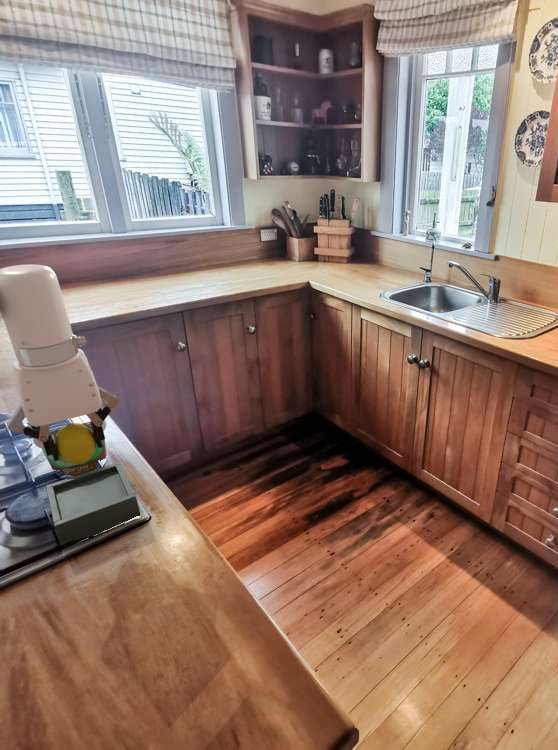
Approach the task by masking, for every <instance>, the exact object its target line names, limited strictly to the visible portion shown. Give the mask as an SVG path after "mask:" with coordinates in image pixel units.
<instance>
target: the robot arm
mask: <svg viewBox="0 0 558 750" xmlns="http://www.w3.org/2000/svg"><path fill="white" fill-rule="evenodd" d="M1 321H3V322H4V325H5V328H6V332H7V334H8V336H9V339H10V343H11V346H12V349H13V351H14V354H15V357H16V360H14V361H13V363H12V370H13V379H14V382H15V387H16V390H17V395H18V398H19V401H20V404H19V406H18V407H17V409H16V410H15V411H14V413H13V414H12V416H11V417H10V419H9V420H8V422H7V423H6V425H7V429H8V431H12V432H15V433H19V434H24V436H27V437H30V438H32V439H33V438H35V439H38V440H39V441H40V442H43V445H44V448H45V451H46V454H47V456H50V455H53V458H54V461H55V462H56V461H58V460H59V455H58V453H57V450H56V446H55V443H54V440H53V437H52V434H51V433H50V432H51V431H50V429H51V425H52V424H55V423H60V422H64V421H67V420H70V419H75V418H78V417H82V416H87V418H89V420H90V421H89V422H90V425H91V428H92V432H93V435H94V437H95V441H96V444H97V447H98V448H102V447H103V445H102V442H101V440H104V439H105V440H106V436H105V432H103V428H102V425H103V421H104V420H105V421H106V419H107V418H108V416H109V415H110V413H112V412H111V411H112V410H113V409H114V408H115V407H116V406H117V404H119V402H120V399H119V396H117V395H116V394H114V393H112V392H111V391H108V390H107V389H105V388H104V387H103V388H102V387H101V386H99V385H98V384H97V381H96V378H95V375H94V372H93V369H92V367H91V365H90V362H89V360H88V358H87V356H86V354H85V352H84V351H83V350H82V349H81V348H80V347H83V346H86V345H88V342H87V339H86V336H85V335H83V336H79V335H76V334H74V333H73V329H72V326H71V322H70V319H69V314H68V311H67V307H66V303H65V301H64V297H63V293H62V290H61V286H60V283H59V279H58V277H57V274H56V272H55V271H54V270H53V269H52V268H51V267H49V266H46V265H42V264H33V263H31V264H17V265H10V266H6V267H2V268H0V323H1ZM102 400H104V403H103V401H102ZM25 419H26V421H27V423H25V422H23V421H24V420H25Z"/></svg>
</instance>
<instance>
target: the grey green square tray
mask: <svg viewBox="0 0 558 750" xmlns="http://www.w3.org/2000/svg"><path fill="white" fill-rule="evenodd" d="M45 489H46V494H47V499H48V504H49V508H50V512H51V518H52V522H53V527H54V529H55V532H56V534H57V538H58V540H59V542H60V545H61V544H65V543H67V542H69V541H72V540H76V539H81V538H85V537H89V536H92V535H96V534H99V533H101V532H103V531H104V530H108V529H110V528H112V527H114V526H116V525H118V524H121V523H123V522H125V521H128V520H130V519H132V518H134V517H136V516H140V515H141V514H142V513H141V511H140V506H139V502H138V499H137V495H136V493H135V491H134V488H133V486H132V484H131V482H130V480H129V478H128V475H127V474H126V471H125V469H124V467H123V464H122V462H121V461H117V462H114V463H111V464H109V465H104V466H103V467H102V468H99V469H96V470H92V471H89V472H86V473H83V474H80V475H77V476H74V477H71V478H68V479H60V480H59V481H55V482H53V483H49V484H46V485H45ZM141 516H142V515H141ZM99 535H100V534H99Z"/></svg>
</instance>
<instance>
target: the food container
mask: <svg viewBox="0 0 558 750" xmlns="http://www.w3.org/2000/svg"><path fill="white" fill-rule="evenodd" d="M90 422H91V421H88V422H82V423H81V424H83V425H85V426H87V427H88V428H89V429H90V430H91V432H92V428H91V425H90ZM102 428H103V432H104V431H105V430H106V428H107V421H106V419H105V420H104V421H103V425H102ZM60 429H61V428H58V429H55V430H53V431H49V432H50V433H51V434H52V437H53V440H54V443H55V439H56V435H57V433H58V431H59V430H60ZM92 433H93V432H92ZM104 433H105V432H104ZM32 441H33V444H34V446H35V447H37V448H38V449H41V450H42V452H43V454H44V456H45V458H46V460H47V461H48V463H49V465H50V468H51V470H52V471H53V470H60V471H62V472H63V473H65V474H67V475H71V476H77V475H80V474H83V473H86V472H89V471H92V470H95V468H96V464H97V461H98V460H100V461H101V460H103V459H105V458H106V456H107V457H108V454H107V446H106V438H105V439H104V440H101V442H102V445H103V447H102V448H98V447H97V444H96V450H95V452H94V454H93V456H92V457H91V458H90V459H89V460H87V461H86V462H84V464H71V463H68V462H65V461H64V460H63V459H62V458H61V457H60V456H59V460H58V461H56V462H55V461H54V458H53V455H50V456H47V454H46V451H45V448H44V445H43V442H40V441H39V440H38V439H35V438H32ZM55 446H56V445H55Z"/></svg>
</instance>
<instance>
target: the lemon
mask: <svg viewBox="0 0 558 750" xmlns="http://www.w3.org/2000/svg"><path fill="white" fill-rule="evenodd" d="M59 429H60V430H59V431H58V433H57V435H56V439H55V445H56V450H57V453H58V455H59V456H60V457H61V458H62V459H63V460H64V461H65V462H68V463H71V464H84V462H86V461H87V460H89V459H90V458H91V457H92V456H93V454H94V452H95V450H96V441H95V437H94V435H93V433H92V432H91V430H90V429H89V428H88V427H87V426H85V425H83V424H82V423H79V422H68V423H67V424H65V425H63V426H62V427H61V428H59Z"/></svg>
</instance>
